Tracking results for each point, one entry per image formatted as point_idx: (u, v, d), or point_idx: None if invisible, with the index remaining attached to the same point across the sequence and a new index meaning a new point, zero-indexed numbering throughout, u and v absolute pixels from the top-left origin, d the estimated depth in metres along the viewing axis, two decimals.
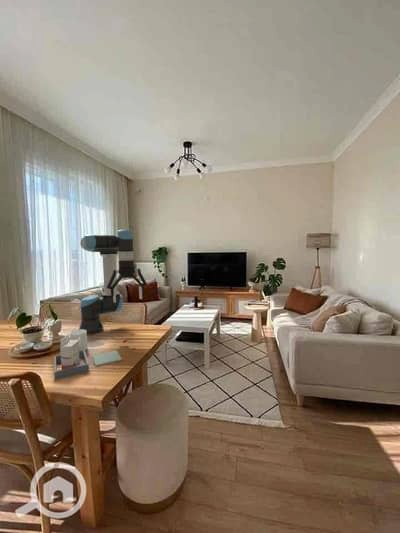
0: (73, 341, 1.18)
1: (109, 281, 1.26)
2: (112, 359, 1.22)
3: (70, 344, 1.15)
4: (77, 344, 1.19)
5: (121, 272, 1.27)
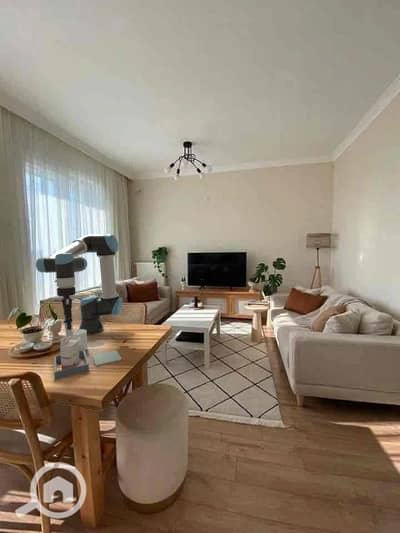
0: (73, 341, 1.18)
1: None
2: (112, 359, 1.22)
3: (70, 344, 1.15)
4: (77, 344, 1.19)
5: None
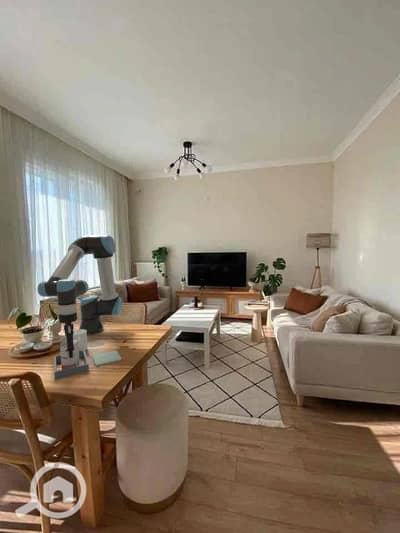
0: (73, 341, 1.18)
1: None
2: (112, 359, 1.22)
3: None
4: (77, 344, 1.19)
5: None
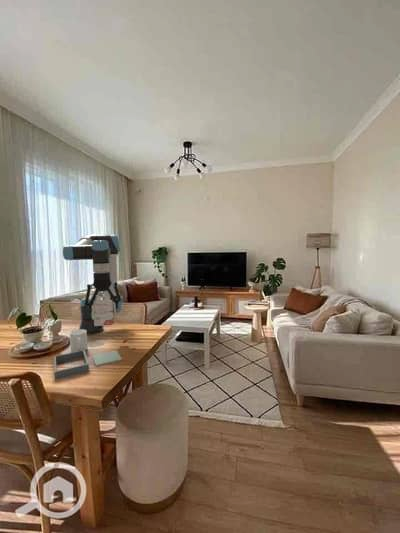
0: None
1: None
2: (112, 359, 1.22)
3: None
4: None
5: (96, 285, 1.20)
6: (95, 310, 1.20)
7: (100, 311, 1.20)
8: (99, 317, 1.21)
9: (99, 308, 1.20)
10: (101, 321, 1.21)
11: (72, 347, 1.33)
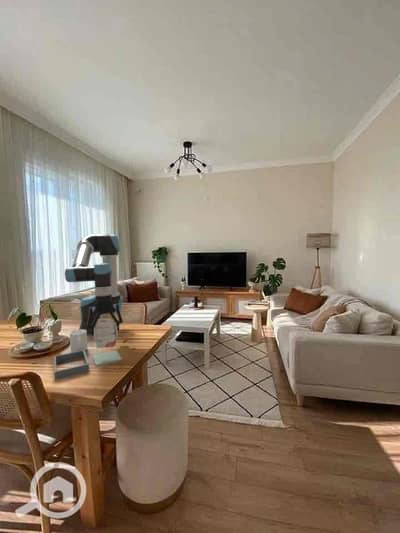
0: None
1: (87, 320, 1.20)
2: (112, 359, 1.22)
3: None
4: None
5: (98, 308, 1.21)
6: (97, 332, 1.21)
7: (102, 334, 1.21)
8: (101, 340, 1.22)
9: (101, 331, 1.21)
10: (103, 343, 1.22)
11: (72, 347, 1.33)
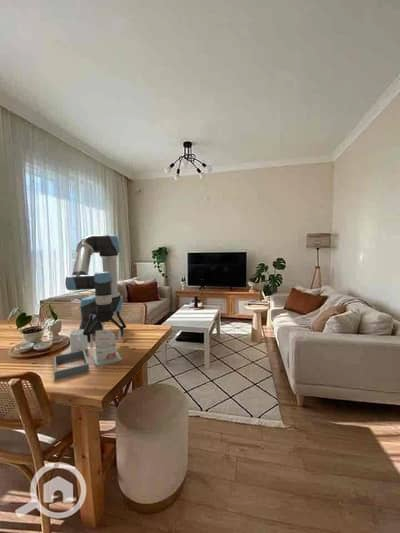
0: None
1: (85, 326, 1.19)
2: (112, 359, 1.22)
3: None
4: None
5: (98, 316, 1.21)
6: (97, 344, 1.22)
7: (102, 345, 1.22)
8: (101, 351, 1.22)
9: (101, 342, 1.22)
10: (104, 355, 1.22)
11: (72, 347, 1.33)
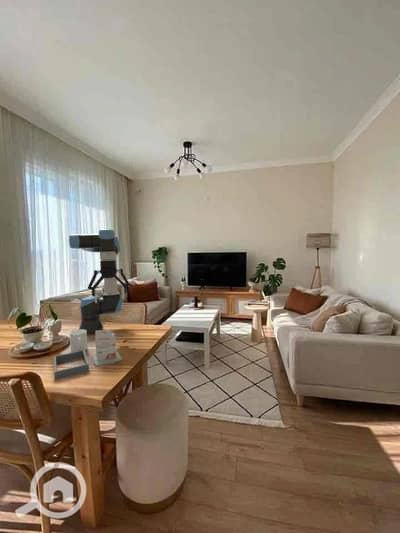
0: None
1: (90, 281, 1.24)
2: (112, 359, 1.22)
3: None
4: None
5: (102, 272, 1.25)
6: (97, 344, 1.22)
7: (102, 345, 1.22)
8: (101, 351, 1.22)
9: (101, 342, 1.22)
10: (104, 354, 1.22)
11: (72, 347, 1.33)
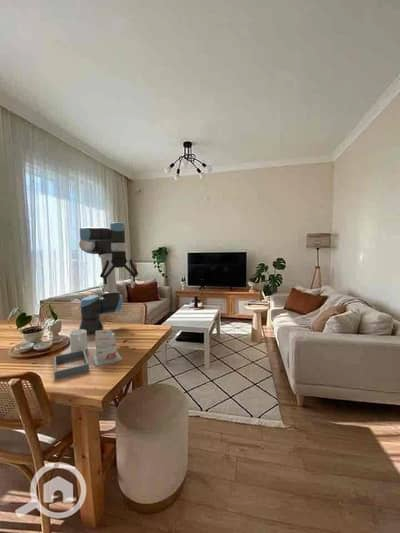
0: None
1: (102, 270, 1.34)
2: (112, 359, 1.22)
3: None
4: None
5: (114, 262, 1.36)
6: (97, 344, 1.22)
7: (102, 345, 1.22)
8: (101, 351, 1.22)
9: (101, 342, 1.22)
10: (104, 354, 1.22)
11: (72, 347, 1.33)
